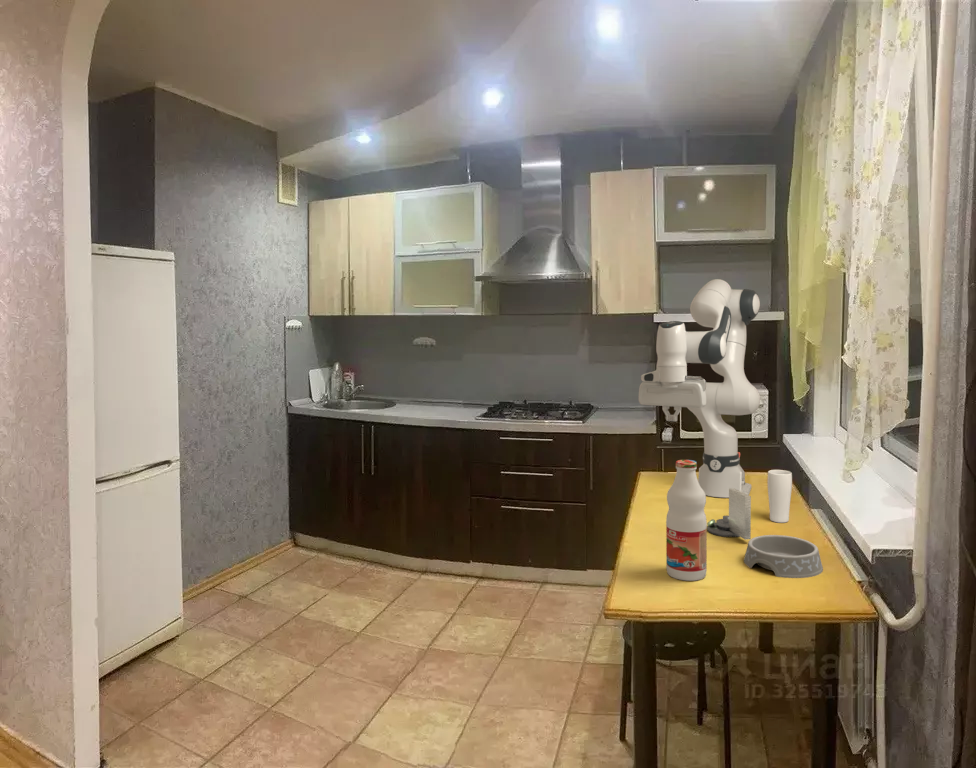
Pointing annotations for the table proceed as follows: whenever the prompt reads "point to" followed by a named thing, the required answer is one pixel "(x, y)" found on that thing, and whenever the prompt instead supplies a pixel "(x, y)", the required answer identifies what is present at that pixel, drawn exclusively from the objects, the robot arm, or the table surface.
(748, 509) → the upright slab
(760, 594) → the table surface
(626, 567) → the table surface
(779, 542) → the dog bowl
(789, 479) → the drinking glass
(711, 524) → the base
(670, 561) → the white plastic bottle
